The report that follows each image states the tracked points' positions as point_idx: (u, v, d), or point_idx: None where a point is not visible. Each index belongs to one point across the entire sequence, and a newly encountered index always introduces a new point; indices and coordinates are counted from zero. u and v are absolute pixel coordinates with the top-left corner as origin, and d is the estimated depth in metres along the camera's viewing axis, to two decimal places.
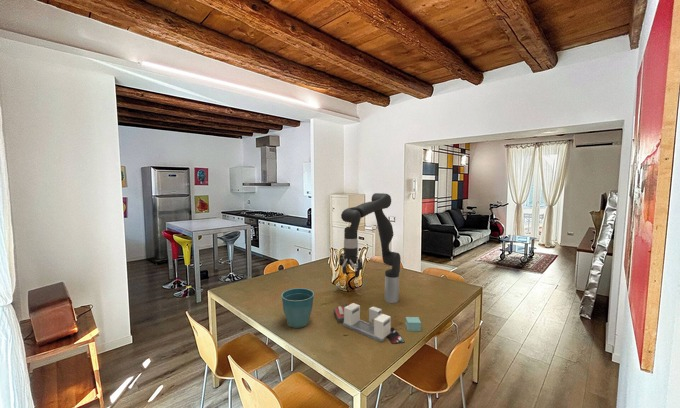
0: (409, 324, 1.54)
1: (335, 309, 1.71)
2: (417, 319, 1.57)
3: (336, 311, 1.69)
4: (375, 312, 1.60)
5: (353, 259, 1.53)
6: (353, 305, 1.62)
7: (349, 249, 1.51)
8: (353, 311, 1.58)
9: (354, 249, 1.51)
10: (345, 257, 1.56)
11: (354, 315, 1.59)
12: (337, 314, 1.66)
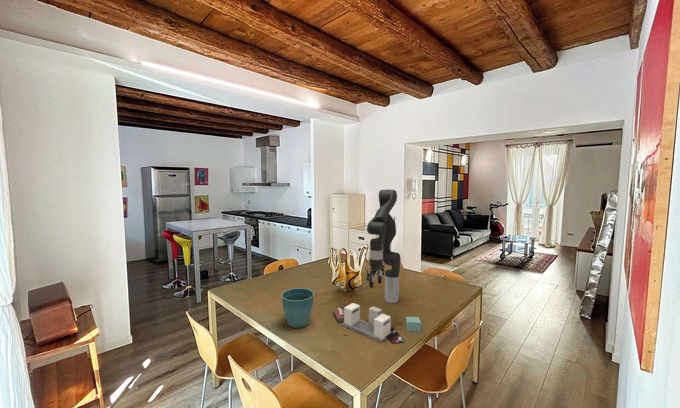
0: (409, 324, 1.54)
1: (335, 311, 1.71)
2: (417, 319, 1.57)
3: (336, 312, 1.69)
4: (375, 312, 1.60)
5: (380, 268, 1.62)
6: (353, 305, 1.62)
7: (382, 259, 1.59)
8: (353, 311, 1.58)
9: None
10: (374, 270, 1.58)
11: (354, 315, 1.59)
12: (337, 315, 1.67)
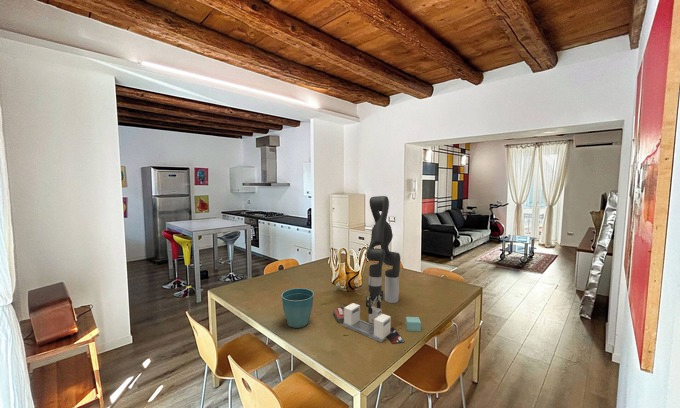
0: (409, 324, 1.54)
1: (335, 311, 1.71)
2: (417, 319, 1.57)
3: (336, 312, 1.69)
4: (375, 312, 1.60)
5: (379, 293, 1.63)
6: (353, 305, 1.62)
7: (381, 285, 1.61)
8: (353, 311, 1.58)
9: None
10: (373, 296, 1.59)
11: (354, 315, 1.59)
12: (337, 315, 1.67)
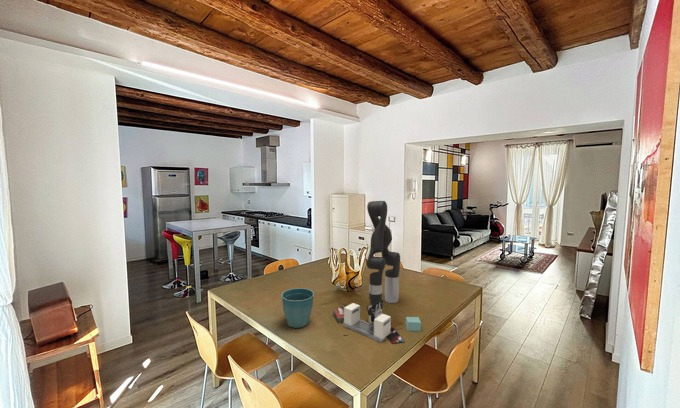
0: (409, 324, 1.54)
1: (335, 310, 1.71)
2: (417, 319, 1.57)
3: (336, 312, 1.69)
4: (375, 312, 1.60)
5: (379, 301, 1.64)
6: (353, 305, 1.62)
7: None
8: (353, 311, 1.58)
9: None
10: (374, 304, 1.60)
11: (354, 315, 1.59)
12: (337, 314, 1.67)
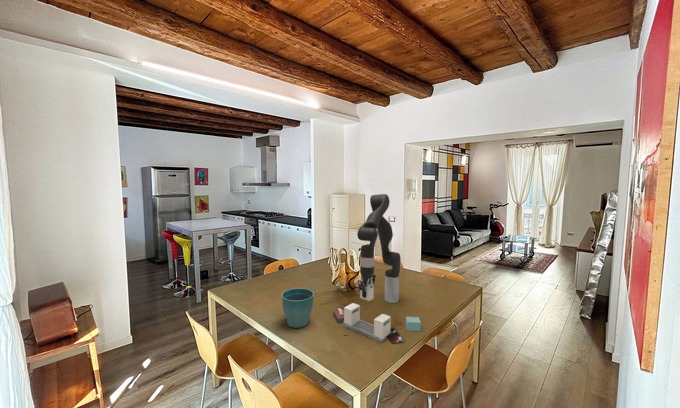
0: (409, 324, 1.54)
1: (335, 311, 1.71)
2: (417, 319, 1.57)
3: (336, 312, 1.69)
4: None
5: (371, 275, 1.54)
6: (353, 305, 1.62)
7: None
8: (353, 311, 1.58)
9: None
10: (365, 278, 1.50)
11: (354, 315, 1.59)
12: (337, 315, 1.67)
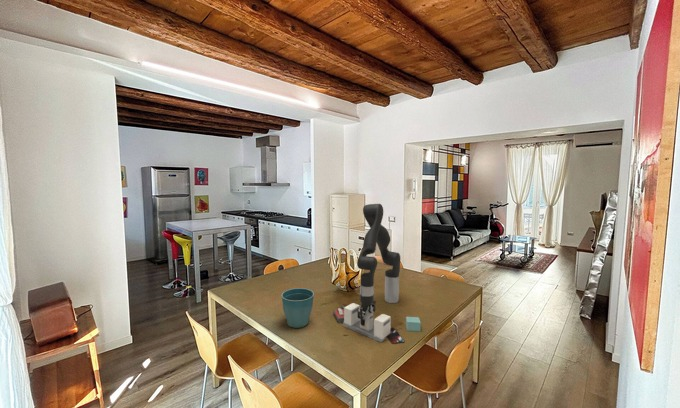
0: (409, 324, 1.54)
1: (335, 311, 1.71)
2: (417, 319, 1.57)
3: (336, 312, 1.69)
4: (366, 317, 1.52)
5: (371, 303, 1.55)
6: (353, 305, 1.62)
7: (373, 295, 1.53)
8: (353, 311, 1.58)
9: None
10: (365, 306, 1.51)
11: (354, 315, 1.59)
12: (337, 315, 1.67)
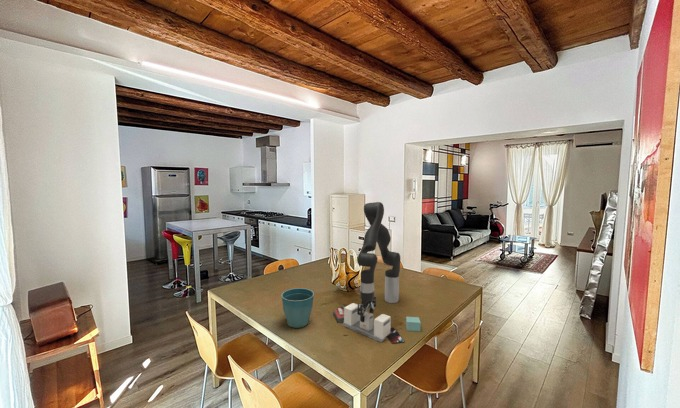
0: (409, 324, 1.54)
1: (335, 311, 1.71)
2: (417, 319, 1.57)
3: (336, 312, 1.69)
4: (366, 317, 1.52)
5: (371, 300, 1.55)
6: (353, 305, 1.62)
7: None
8: (353, 311, 1.58)
9: None
10: (365, 303, 1.51)
11: (354, 315, 1.59)
12: (337, 315, 1.67)
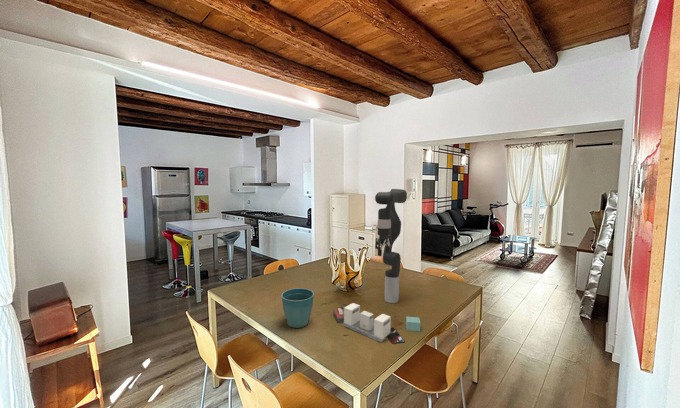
0: (408, 323, 1.55)
1: (335, 311, 1.71)
2: (417, 319, 1.57)
3: (336, 312, 1.69)
4: (366, 317, 1.52)
5: (388, 237, 1.67)
6: (353, 305, 1.62)
7: (390, 228, 1.64)
8: (353, 311, 1.58)
9: None
10: (383, 238, 1.62)
11: (354, 315, 1.59)
12: (337, 315, 1.67)
